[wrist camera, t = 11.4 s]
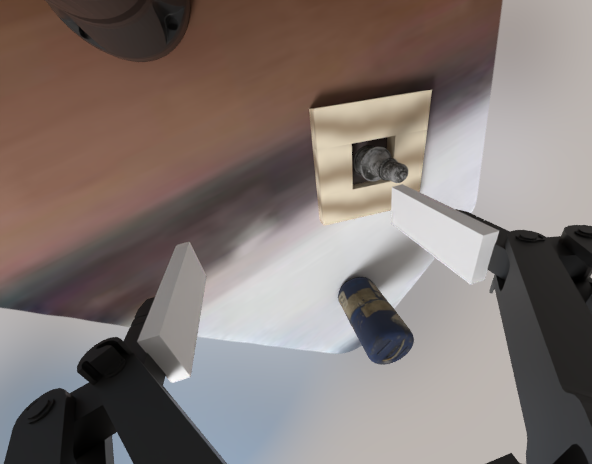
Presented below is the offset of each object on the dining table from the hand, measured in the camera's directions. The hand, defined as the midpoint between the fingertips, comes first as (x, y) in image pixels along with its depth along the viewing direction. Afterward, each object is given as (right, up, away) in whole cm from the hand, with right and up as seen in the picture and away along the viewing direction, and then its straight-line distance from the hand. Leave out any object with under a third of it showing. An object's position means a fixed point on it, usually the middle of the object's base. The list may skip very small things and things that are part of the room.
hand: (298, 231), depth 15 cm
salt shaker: (+13, +13, +29) cm, 34 cm away
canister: (+14, -14, +44) cm, 48 cm away
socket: (+13, +13, +29) cm, 34 cm away
